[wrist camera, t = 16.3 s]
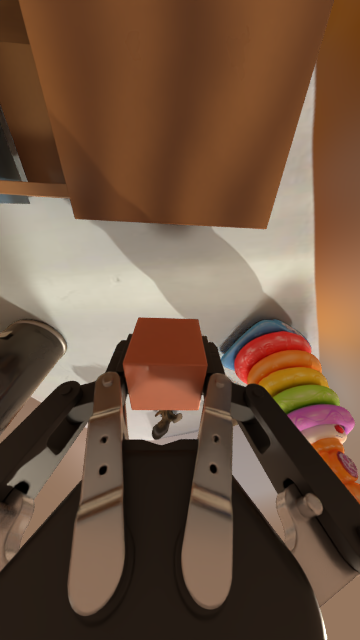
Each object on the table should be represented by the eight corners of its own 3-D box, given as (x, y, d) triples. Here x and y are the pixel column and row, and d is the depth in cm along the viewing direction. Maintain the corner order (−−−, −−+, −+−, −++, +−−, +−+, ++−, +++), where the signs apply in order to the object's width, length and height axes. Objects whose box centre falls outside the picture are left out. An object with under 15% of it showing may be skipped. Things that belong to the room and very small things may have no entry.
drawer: (-31, 200, 18) (-133, 197, 12) (-135, 5, 12) (-452, -199, 6) (141, 210, 19) (125, 211, 13) (130, 30, 13) (87, -129, 7)
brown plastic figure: (147, 402, 41) (145, 427, 44) (161, 427, 35) (158, 453, 39) (173, 390, 45) (170, 413, 48) (189, 411, 40) (184, 435, 43)
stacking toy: (313, 338, 31) (531, 549, 12) (261, 376, 37) (352, 557, 18) (262, 306, 27) (467, 546, 8) (213, 354, 33) (264, 557, 14)
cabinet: (113, 214, 20) (74, 218, 12) (84, 22, 13) (-43, -232, 5) (233, 221, 21) (266, 229, 13) (269, 40, 14) (384, -168, 6)
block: (142, 359, 15) (131, 410, 11) (138, 316, 12) (121, 364, 8) (193, 360, 15) (198, 410, 11) (198, 318, 12) (208, 365, 9)
